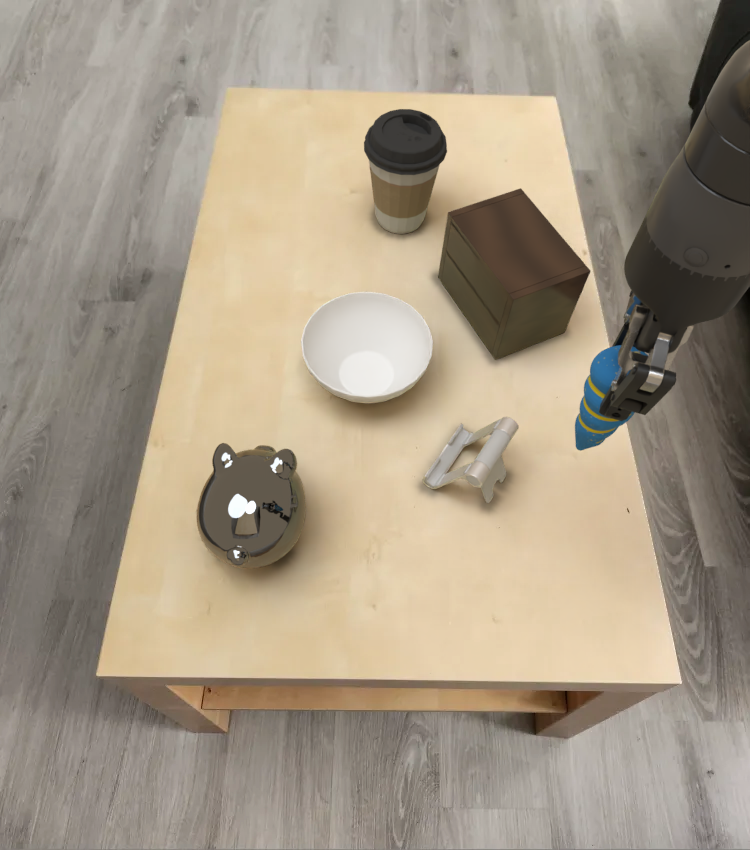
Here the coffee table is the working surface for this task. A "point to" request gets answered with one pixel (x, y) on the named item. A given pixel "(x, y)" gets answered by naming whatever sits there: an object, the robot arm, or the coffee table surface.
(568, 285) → the wooden drawer cabinet
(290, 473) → the piggy bank
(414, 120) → the coffee cup
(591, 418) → the ornament
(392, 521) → the coffee table surface
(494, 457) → the tablet stand
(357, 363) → the bowl
